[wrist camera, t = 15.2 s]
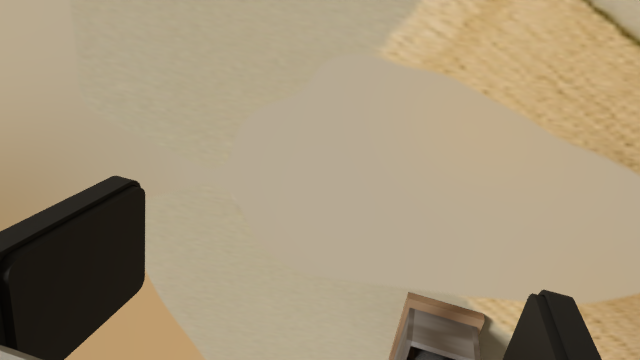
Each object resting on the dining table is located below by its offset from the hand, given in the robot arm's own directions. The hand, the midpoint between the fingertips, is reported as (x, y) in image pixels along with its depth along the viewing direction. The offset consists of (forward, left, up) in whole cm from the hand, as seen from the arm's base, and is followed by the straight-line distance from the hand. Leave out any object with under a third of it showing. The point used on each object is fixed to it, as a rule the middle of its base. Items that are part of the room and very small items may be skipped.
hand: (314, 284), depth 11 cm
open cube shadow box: (-8, +22, -28) cm, 37 cm away
